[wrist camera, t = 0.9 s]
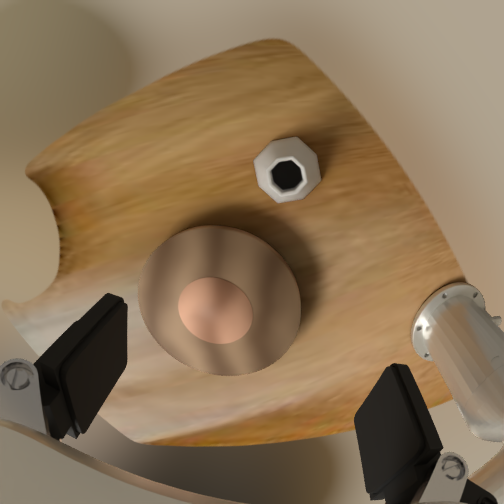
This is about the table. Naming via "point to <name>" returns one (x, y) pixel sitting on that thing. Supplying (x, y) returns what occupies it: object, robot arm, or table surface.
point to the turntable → (220, 300)
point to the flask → (287, 169)
